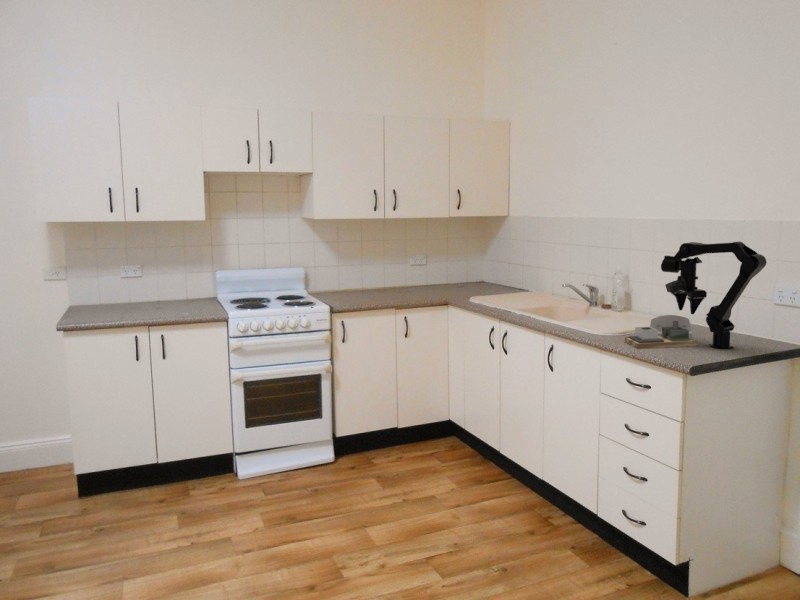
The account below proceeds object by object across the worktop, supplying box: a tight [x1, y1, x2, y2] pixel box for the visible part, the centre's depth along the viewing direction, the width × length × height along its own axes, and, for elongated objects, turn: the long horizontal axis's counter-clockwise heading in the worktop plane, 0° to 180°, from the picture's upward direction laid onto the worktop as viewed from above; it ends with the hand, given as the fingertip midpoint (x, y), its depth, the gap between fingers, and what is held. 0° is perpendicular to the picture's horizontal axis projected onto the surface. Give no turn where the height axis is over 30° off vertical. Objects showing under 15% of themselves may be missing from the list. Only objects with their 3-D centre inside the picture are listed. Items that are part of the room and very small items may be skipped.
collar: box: [634, 326, 658, 340], centre depth 255 cm, size 6×6×4 cm
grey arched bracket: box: [649, 314, 694, 339], centre depth 270 cm, size 17×5×10 cm, turn 82°
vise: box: [624, 321, 698, 350], centre depth 256 cm, size 12×24×9 cm, turn 94°
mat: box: [628, 335, 664, 343], centre depth 255 cm, size 10×10×1 cm
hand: (686, 312), depth 258 cm, fingers open, 9 cm apart
